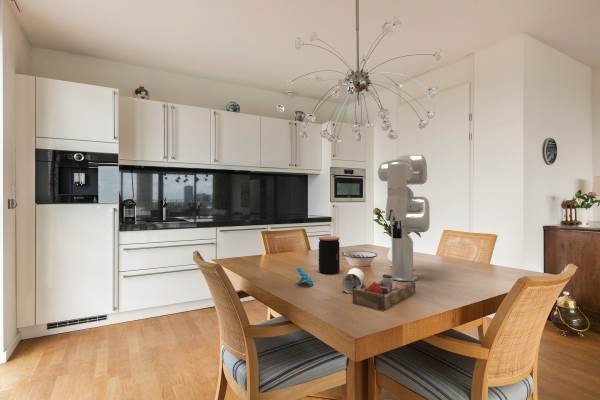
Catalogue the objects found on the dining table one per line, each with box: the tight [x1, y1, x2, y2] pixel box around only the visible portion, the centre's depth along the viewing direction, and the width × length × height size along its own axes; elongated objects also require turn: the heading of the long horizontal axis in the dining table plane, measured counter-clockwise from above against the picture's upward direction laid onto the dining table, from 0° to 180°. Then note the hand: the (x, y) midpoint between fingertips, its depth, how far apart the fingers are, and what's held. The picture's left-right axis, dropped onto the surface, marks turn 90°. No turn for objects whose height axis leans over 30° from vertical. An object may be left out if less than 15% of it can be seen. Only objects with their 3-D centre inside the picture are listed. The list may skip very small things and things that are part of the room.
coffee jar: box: [318, 235, 341, 275], centre depth 168 cm, size 11×11×18 cm
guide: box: [352, 279, 416, 312], centre depth 125 cm, size 28×12×5 cm, turn 139°
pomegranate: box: [367, 280, 383, 294], centre depth 118 cm, size 6×6×8 cm
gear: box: [296, 267, 315, 286], centre depth 144 cm, size 11×6×10 cm
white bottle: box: [340, 267, 365, 294], centre depth 139 cm, size 8×19×8 cm, turn 162°
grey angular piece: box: [380, 273, 399, 295], centre depth 125 cm, size 13×7×8 cm, turn 139°
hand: (397, 238), depth 132 cm, fingers closed
